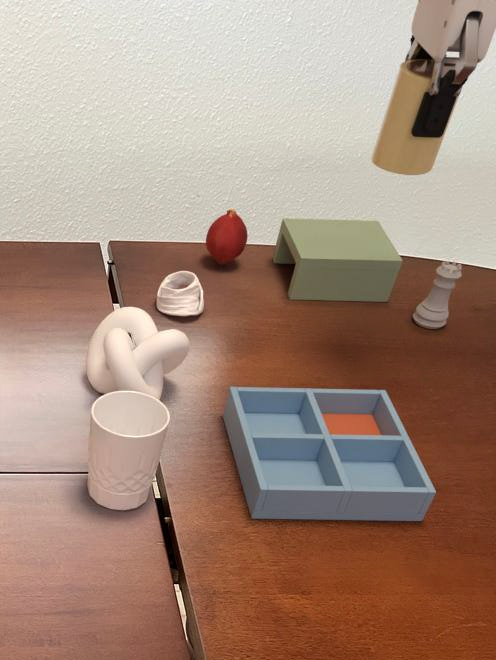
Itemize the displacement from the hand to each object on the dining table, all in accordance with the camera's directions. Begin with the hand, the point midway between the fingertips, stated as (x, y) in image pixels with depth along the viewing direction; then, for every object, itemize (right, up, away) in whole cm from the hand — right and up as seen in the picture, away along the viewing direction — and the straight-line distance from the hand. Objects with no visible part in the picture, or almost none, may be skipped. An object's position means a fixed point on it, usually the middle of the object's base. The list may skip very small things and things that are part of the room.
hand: (416, 121), depth 95 cm
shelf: (+3, -3, +34) cm, 34 cm away
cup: (0, -3, +3) cm, 4 cm away
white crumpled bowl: (-20, -10, +28) cm, 36 cm away
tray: (-9, -36, +6) cm, 37 cm away
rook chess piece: (+14, -12, +27) cm, 33 cm away
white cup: (-32, -39, +2) cm, 50 cm away
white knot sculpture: (-29, -26, +14) cm, 41 cm away
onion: (-12, 0, +36) cm, 38 cm away
